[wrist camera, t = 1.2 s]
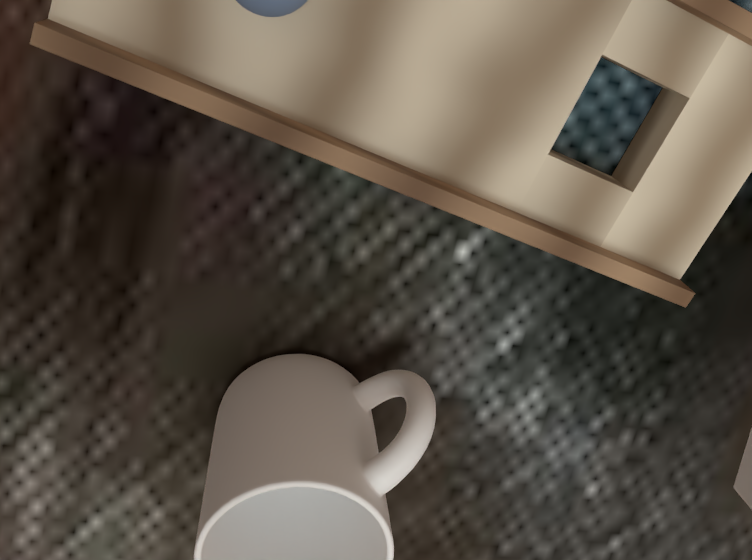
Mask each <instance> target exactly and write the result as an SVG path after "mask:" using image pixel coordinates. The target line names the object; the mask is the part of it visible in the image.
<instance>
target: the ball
mask: <svg viewBox="0 0 752 560" xmlns="http://www.w3.org/2000/svg"><path fill="white" fill-rule="evenodd" d="M236 1H237V2H238V3H239V4H240V5H241V6H242V7H244V8H245V9H247V10H248V11H250V12H252V13H255V14H257V15H261V16H265V17H280V16H285V15H287V14H290V13H292V12H294V11H296V10H297V9H299V8H300V7H302V6H303V5H304V4H305V3H306V2H307V0H236Z"/></svg>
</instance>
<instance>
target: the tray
mask: <svg viewBox="0 0 752 560" xmlns="http://www.w3.org/2000/svg"><path fill="white" fill-rule="evenodd" d="M30 44H31V45H33V46H36V47H38V48H41V49H43V50H46V51H48V52H51V53H53V54H56V55H58V56H61V57H63V58H66V59H68V60H71V61H73V62H76V63H78V64H81V65H83V66H86V67H88V68H90V69H93V70H95V71H98V72H100V73H103V74H105V75H108V76H110V77H113V78H115V79H118V80H120V81H123V82H125V83H128V84H130V85H133V86H135V87H138V88H140V89H143V90H145V91H148V92H150V93H153V94H155V95H158V96H160V97H163V98H165V99H168V100H170V101H173V102H175V103H178V104H180V105H183V106H185V107H188V108H190V109H193V110H195V111H198V112H200V113H203V114H205V115H208V116H210V117H213V118H215V119H217V120H220V121H222V122H225V123H227V124H230V125H232V126H235V127H237V128H240V129H242V130H245V131H247V132H250V133H252V134H255V135H257V136H260V137H262V138H265V139H267V140H270V141H272V142H275V143H277V144H280V145H282V146H285V147H287V148H290V149H292V150H295V151H297V152H300V153H302V154H305V155H307V156H310V157H312V158H315V159H317V160H320V161H322V162H325V163H327V164H330V165H332V166H335V167H337V168H340V169H342V170H344V171H347V172H349V173H352V174H354V175H357V176H359V177H362V178H364V179H367V180H369V181H372V182H374V183H377V184H379V185H382V186H384V187H387V188H389V189H392V190H394V191H397V192H399V193H402V194H404V195H407V196H409V197H412V198H414V199H417V200H419V201H422V202H424V203H427V204H429V205H432V206H434V207H437V208H439V209H442V210H444V211H447V212H449V213H452V214H454V215H457V216H459V217H462V218H464V219H467V220H469V221H471V222H474V223H476V224H479V225H481V226H484V227H486V228H489V229H491V230H494V231H496V232H499V233H501V234H504V235H506V236H509V237H511V238H514V239H516V240H519V241H521V242H524V243H526V244H529V245H531V246H534V247H536V248H539V249H541V250H544V251H546V252H549V253H551V254H554V255H556V256H559V257H561V258H564V259H566V260H569V261H571V262H574V263H576V264H579V265H581V266H584V267H586V268H589V269H591V270H594V271H596V272H598V273H601V274H603V275H606V276H608V277H611V278H613V279H616V280H618V281H621V282H623V283H626V284H628V285H631V286H633V287H636V288H638V289H641V290H643V291H646V292H648V293H651V294H653V295H656V296H658V297H661V298H663V299H666V300H668V301H671V302H673V303H676V304H678V305H681V306H683V307H686V306H687V305H688V304H689V302H690V301H691V299H692V298H693V296H694V295H695V293H694V292H693V291H692V290H691V289H690V288H689V287H687V286H686V285H685V284H684V283H683V282H682V281H681V280H680V279H681V277H682V276H683V274H684V273H685V271H686V270H687V268H688V267H689V265H690V264H691V262H692V261H693V259H694V258H695V256H696V254H697V253H698V251H699V250H700V248H701V247H702V245H703V244H704V242H705V241H706V239H707V238H708V236H709V235H710V233H711V232H712V230H713V229H714V227H715V226H716V224H717V223H718V221H719V220H720V218H721V217H722V215H723V214H724V212H725V211H726V209H727V208H728V206H729V205H730V203H731V202H732V200H733V199H734V197H735V196H736V194H737V193H738V191H739V189H740V188H741V186H742V185H743V183H744V182H745V180H746V179H747V177H748V176H749V174H750V173H751V171H752V13H750V12H749V11H747V10H745V9H743V8H741V7H740V6H738V5H736V4H734V3H732V2H731V1H729V0H307V2H306V3H305V4H304V5H303V6H302V7H300V8H299V9H297V10H296V11H294V12H292V13H290V14H287V15H285V16H280V17H265V16H261V15H257V14H255V13H252V12H250V11H248V10H247V9H245V8H244V7H242V6H241V5H240V4H239V3H238V2H237V1H236V0H52V4H51V8H50V12H49V16H48V19H45V20H42V21H38V22H35V23H34V27H33V32H32V36H31V40H30ZM601 57H602V58H604V59H606V60H608V61H610V62H612V63H614V64H616V65H618V66H620V67H622V68H624V69H626V70H628V71H630V72H632V73H634V74H636V75H638V76H640V77H642V78H644V79H646V80H648V81H650V82H653V83H655V84H657V85H659V86H661V87H663V89H662V90H661V92H660V94H659V95H658V97H657V99H656V100H655V102H654V104H653V106H652V107H651V109H650V111H649V112H648V114H647V116H646V118H645V119H644V121H643V123H642V124H641V126H640V128H639V130H638V131H637V133H636V135H635V136H634V138H633V140H632V141H631V143H630V145H629V147H628V148H627V150H626V152H625V153H624V155H623V157H622V159H621V160H620V162H619V164H618V165H617V167H616V169H615V171H614V172H613V174H612V176H610V175H607V174H605V173H603V172H601V171H599V170H596V169H594V168H592V167H590V166H587V165H585V164H583V163H581V162H578V161H576V160H574V159H572V158H569V157H567V156H565V155H563V154H560V153H558V152H556V151H554V150H552V149H551V148H552V146H553V144H554V142H555V141H556V139H557V137H558V135H559V133H560V131H561V130H562V128H563V126H564V124H565V122H566V120H567V119H568V117H569V115H570V113H571V111H572V109H573V107H574V106H575V104H576V102H577V100H578V98H579V96H580V95H581V93H582V91H583V89H584V87H585V85H586V84H587V82H588V80H589V78H590V76H591V74H592V73H593V71H594V69H595V67H596V65H597V63H598V61H599V60H600V58H601Z"/></svg>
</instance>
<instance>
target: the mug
mask: <svg viewBox="0 0 752 560" xmlns="http://www.w3.org/2000/svg"><path fill="white" fill-rule="evenodd" d="M400 396H401V397H404V398H405V400H406V403H407V411H406V416H405V420H404V422H403V425H402V427H401V429H400V431H399V433H398V434H397V435H396V437H395V438H394V440H393V441H392V442H391V443H390V444H389V445H388V446H387V447H386V448H385V449H384V450H383V451H381V452H380V453H379V452H378V446H377V440H376V434H375V428H374V422H373V417H372V412H371V409H372V408H374V407H375V406H377V405H379V404H380V403H382V402H384V401H386V400H388V399H390V398H394V397H400ZM435 419H436V403H435V399H434V395H433V393H432V391H431V388H430V386H429V385H428V383H427V382H426V381H425V380H424V379H423V378H422V377H420V376H419V375H417V374H416V373H414V372H411V371H407V370H398V369H396V370H389V371H386V372H382V373H380V374H377V375H375V376H373V377H371V378H368V379H366V380H365V381H363V382H361V383H359V382H358V381H357V379H356V378H355V377H354V376H353V375H352V374H351V373H349V372H348V371H347V370H345V369H344V368H343V367H341V366H339V365H338V364H336V363H334V362H332V361H330V360H328V359H325V358H322V357H318V356H314V355H308V354H285V355H279V356H274V357H271V358H267V359H265V360H263V361H260V362H258V363H256V364H254V365H253V366H251V367H249V368H248V369H246V370H245V371H244V372H242V373H241V374H240V375H239V376H238V377H237V378H236V379H235V380H234V381H233V382H232V383H231V385H230V386H229V387H228V389H227V391H226V393H225V394H224V396H223V398H222V401H221V404H220V406H219V410H218V414H217V418H216V423H215V429H214V435H213V441H212V447H211V453H210V459H209V465H208V471H207V477H206V483H205V489H204V495H203V501H202V507H201V513H200V519H199V525H198V532H197V538H196V544H195V550H194V560H393V557H394V543H393V537H392V532H391V526H390V519H389V513H388V507H387V501H386V495H385V493H387V492H388V491H389V490H391V489H392V488H393V487H394V486H396V485H397V484H398V483H399V482H400V481H401V480H402V479H403V478H404V477H405V476H406V475H407V474H408V473H409V472H410V471H411V470H412V469H413V468H414V466H415V465H416V464H417V462H418V461H419V460H420V458H421V457H422V455H423V453H424V452H425V450H426V448H427V446H428V444H429V442H430V439H431V437H432V433H433V430H434V426H435Z"/></svg>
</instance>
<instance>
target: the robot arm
mask: <svg viewBox="0 0 752 560" xmlns="http://www.w3.org/2000/svg"><path fill="white" fill-rule="evenodd" d="M733 488H734V489H735V490H736V491H737V493H738V494H739V495H740V496H741V497H742V499H743V500H744V501H745V502H746V503H747V505H748V506H749V507H750V508H751V510H752V428H751V432H750V435H749V438H748V442H747V445H746V448H745V451H744V455H743V458H742V461H741V464H740V468H739V471H738V474H737V478H736V481H735V484H734V487H733Z"/></svg>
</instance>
